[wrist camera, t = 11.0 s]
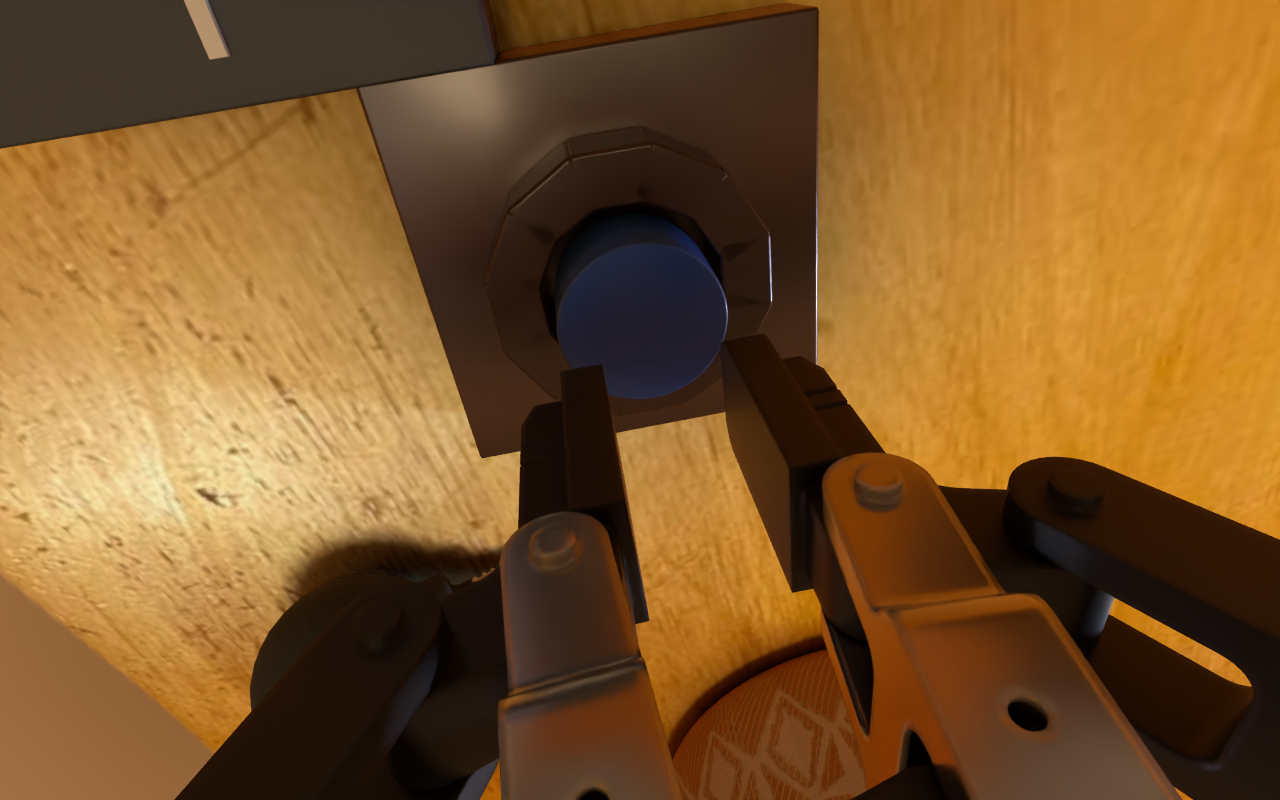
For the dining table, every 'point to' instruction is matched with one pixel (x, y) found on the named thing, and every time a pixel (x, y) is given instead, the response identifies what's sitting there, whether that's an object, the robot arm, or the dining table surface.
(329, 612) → the light bulb
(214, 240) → the dining table surface
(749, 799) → the planter
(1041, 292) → the dining table surface
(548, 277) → the switch block
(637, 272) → the switch button
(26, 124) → the dimmer panel
